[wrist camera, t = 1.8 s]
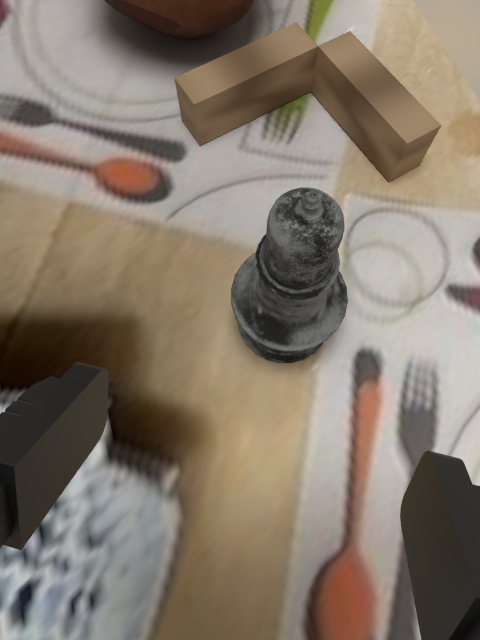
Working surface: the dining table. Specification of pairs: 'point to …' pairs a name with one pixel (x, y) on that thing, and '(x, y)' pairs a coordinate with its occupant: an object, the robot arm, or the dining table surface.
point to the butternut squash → (184, 15)
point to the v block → (323, 82)
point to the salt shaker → (293, 279)
